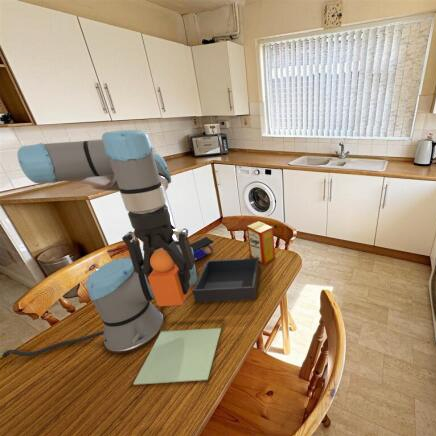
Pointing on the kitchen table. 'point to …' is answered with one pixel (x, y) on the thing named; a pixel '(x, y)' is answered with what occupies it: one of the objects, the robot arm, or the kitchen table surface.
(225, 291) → the basket
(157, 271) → the orange round-topped block
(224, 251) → the kitchen table surface
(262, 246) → the baking soda box
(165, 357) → the mat
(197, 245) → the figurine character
